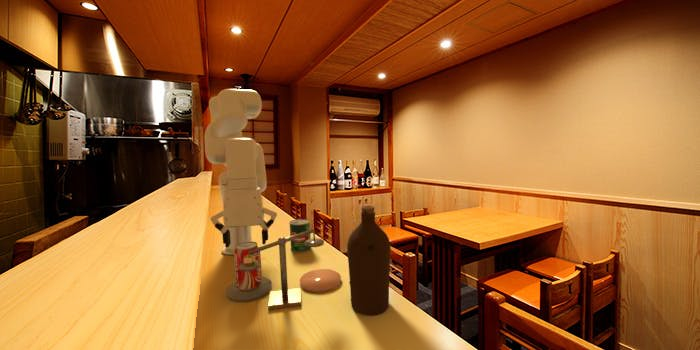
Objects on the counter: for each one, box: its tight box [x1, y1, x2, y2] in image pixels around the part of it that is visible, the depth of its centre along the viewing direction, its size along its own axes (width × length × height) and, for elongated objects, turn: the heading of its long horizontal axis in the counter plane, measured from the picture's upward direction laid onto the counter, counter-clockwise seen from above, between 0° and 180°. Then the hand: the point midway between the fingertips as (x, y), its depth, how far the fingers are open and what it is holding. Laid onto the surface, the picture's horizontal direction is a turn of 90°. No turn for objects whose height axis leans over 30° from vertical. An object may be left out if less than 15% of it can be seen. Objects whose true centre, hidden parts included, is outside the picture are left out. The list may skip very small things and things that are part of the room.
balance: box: [239, 228, 325, 311], centre depth 73 cm, size 7×21×19 cm, turn 101°
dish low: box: [225, 276, 273, 303], centre depth 79 cm, size 12×12×1 cm
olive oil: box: [346, 205, 391, 316], centre depth 69 cm, size 11×11×25 cm
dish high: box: [299, 268, 342, 293], centre depth 83 cm, size 12×12×1 cm
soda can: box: [233, 241, 263, 291], centre depth 79 cm, size 7×7×12 cm
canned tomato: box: [289, 218, 312, 253], centre depth 110 cm, size 8×8×11 cm
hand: (246, 244), depth 79 cm, fingers open, 9 cm apart
